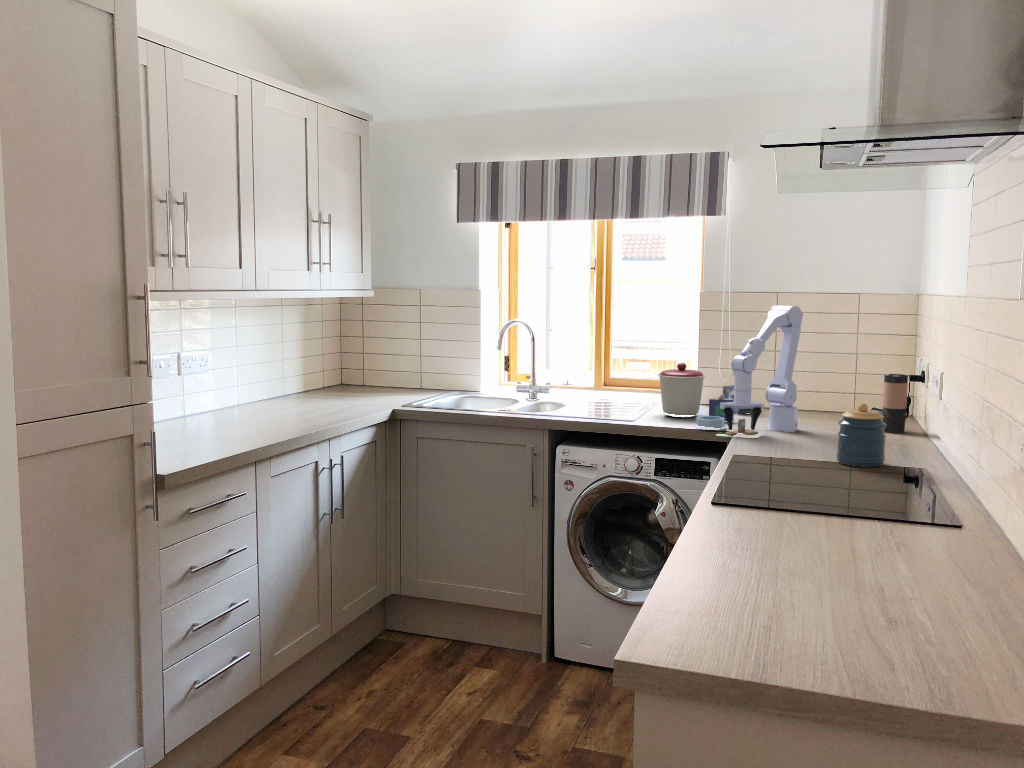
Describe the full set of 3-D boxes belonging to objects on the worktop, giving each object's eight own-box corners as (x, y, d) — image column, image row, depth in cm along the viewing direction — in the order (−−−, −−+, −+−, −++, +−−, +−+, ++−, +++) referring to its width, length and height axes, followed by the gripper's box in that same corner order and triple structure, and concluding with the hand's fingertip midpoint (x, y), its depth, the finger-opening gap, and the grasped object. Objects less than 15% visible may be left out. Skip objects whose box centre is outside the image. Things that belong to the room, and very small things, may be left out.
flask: (732, 421, 324) (733, 393, 323) (734, 423, 321) (735, 394, 320) (708, 421, 325) (708, 393, 323) (709, 423, 322) (710, 394, 320)
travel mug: (907, 434, 298) (910, 376, 296) (883, 433, 300) (886, 376, 297) (902, 430, 306) (905, 374, 303) (879, 429, 307) (882, 373, 305)
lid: (761, 432, 299) (762, 418, 298) (753, 438, 290) (753, 422, 289) (730, 430, 305) (730, 415, 304) (720, 435, 295) (721, 420, 295)
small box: (721, 411, 350) (721, 385, 348) (734, 410, 352) (734, 385, 351) (738, 415, 340) (739, 388, 339) (751, 414, 343) (752, 388, 341)
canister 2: (827, 462, 252) (830, 403, 250) (850, 456, 260) (853, 398, 258) (870, 470, 242) (873, 408, 240) (892, 463, 250) (896, 403, 248)
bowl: (727, 428, 310) (727, 417, 310) (719, 432, 302) (719, 420, 302) (701, 425, 315) (701, 415, 315) (692, 429, 307) (692, 418, 307)
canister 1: (695, 421, 325) (697, 365, 322) (650, 417, 334) (651, 363, 331) (710, 415, 341) (711, 361, 338) (666, 411, 350) (667, 359, 347)
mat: (767, 433, 299) (767, 432, 299) (756, 440, 288) (756, 439, 288) (727, 430, 307) (727, 429, 307) (715, 436, 295) (715, 435, 295)
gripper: (760, 388, 299) (759, 427, 301) (718, 388, 299) (717, 427, 301) (766, 391, 292) (765, 430, 294) (723, 391, 292) (722, 431, 294)
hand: (741, 429), depth 297 cm, fingers open, 7 cm apart
